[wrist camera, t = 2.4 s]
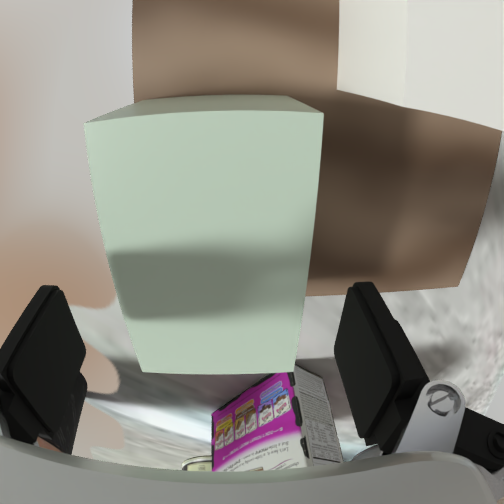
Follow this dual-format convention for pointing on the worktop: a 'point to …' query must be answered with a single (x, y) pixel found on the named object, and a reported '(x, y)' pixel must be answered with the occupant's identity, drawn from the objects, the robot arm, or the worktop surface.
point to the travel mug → (68, 420)
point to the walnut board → (333, 137)
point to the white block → (426, 55)
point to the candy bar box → (276, 426)
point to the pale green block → (209, 226)
